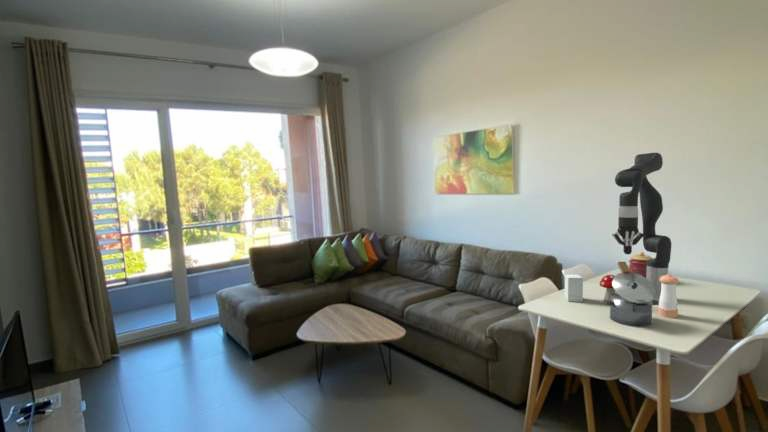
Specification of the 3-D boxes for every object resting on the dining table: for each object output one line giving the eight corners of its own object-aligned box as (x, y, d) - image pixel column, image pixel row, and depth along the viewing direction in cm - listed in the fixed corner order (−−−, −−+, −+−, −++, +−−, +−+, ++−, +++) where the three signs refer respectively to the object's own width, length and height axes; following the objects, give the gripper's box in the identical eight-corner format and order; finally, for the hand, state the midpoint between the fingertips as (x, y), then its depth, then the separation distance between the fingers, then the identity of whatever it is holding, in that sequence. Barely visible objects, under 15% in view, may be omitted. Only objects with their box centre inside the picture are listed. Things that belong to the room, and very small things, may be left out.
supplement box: (583, 301, 206) (583, 277, 204) (567, 301, 207) (567, 277, 206) (579, 297, 213) (579, 274, 212) (564, 297, 214) (564, 274, 213)
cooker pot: (646, 313, 185) (646, 292, 184) (670, 328, 167) (671, 305, 166) (597, 313, 188) (597, 293, 187) (616, 328, 170) (616, 305, 169)
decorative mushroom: (600, 306, 198) (600, 276, 197) (598, 300, 206) (598, 272, 205) (623, 307, 195) (624, 277, 193) (620, 302, 203) (620, 273, 201)
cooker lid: (639, 263, 185) (641, 259, 184) (662, 305, 168) (664, 301, 166) (602, 264, 187) (603, 260, 185) (620, 305, 170) (622, 301, 168)
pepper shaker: (671, 319, 178) (672, 277, 176) (654, 314, 184) (655, 273, 183) (681, 316, 181) (682, 274, 179) (664, 311, 187) (665, 271, 185)
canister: (623, 279, 245) (623, 250, 243) (642, 277, 246) (643, 249, 244) (639, 284, 232) (639, 254, 230) (659, 283, 233) (660, 253, 232)
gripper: (639, 214, 181) (638, 252, 183) (608, 215, 183) (608, 252, 184) (648, 216, 174) (647, 255, 175) (616, 217, 175) (615, 256, 177)
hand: (627, 254), depth 180 cm, fingers closed
